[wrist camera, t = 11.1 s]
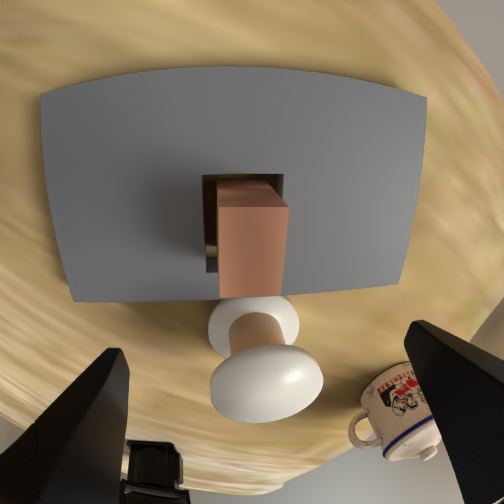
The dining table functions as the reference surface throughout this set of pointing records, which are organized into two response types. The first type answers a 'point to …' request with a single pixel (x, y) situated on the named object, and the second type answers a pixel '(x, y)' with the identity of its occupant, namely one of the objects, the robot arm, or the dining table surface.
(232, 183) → the brown rectangular block
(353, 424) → the white printed mug
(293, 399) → the spool
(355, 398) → the dining table surface
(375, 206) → the slotted board
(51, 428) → the robot arm
